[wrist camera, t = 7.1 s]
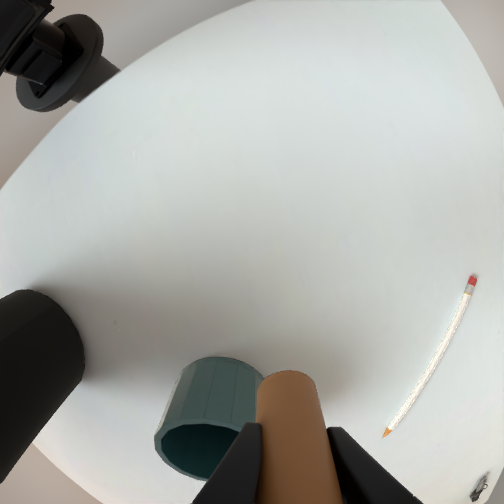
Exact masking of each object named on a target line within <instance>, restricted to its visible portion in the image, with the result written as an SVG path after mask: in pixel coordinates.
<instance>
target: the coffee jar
mask: <svg viewBox="0 0 504 504" xmlns="http://www.w3.org/2000/svg"><path fill="white" fill-rule="evenodd" d="M84 367H85V364H84V351H83V345H82V342H81V339H80V337H79V334H78V331H77V330H76V328H75V326H74V324H73V323H72V321H71V319H70V318H69V316H68V315H67V314H66V313H65V312H64V310H63V309H62V308H61V307H60V306H59V305H58V304H57V303H56V302H54V301H53V300H52V299H51V298H49V297H48V296H46V295H43V294H41V293H38V292H35V291H33V290H28V289H27V290H17V291H15V292H13V293H11V294H9V295H7V296H5V297H3V298H2V299H0V484H1V483H2V482H3V481H4V479H5V478H6V477H7V475H8V474H9V472H10V471H11V470H12V468H13V467H14V465H15V464H16V463H17V461H18V460H19V459H20V457H21V456H22V454H23V453H24V452H25V450H26V449H27V448H28V446H29V445H30V444H31V443H32V441H33V440H34V439H35V437H36V436H37V435H38V433H39V432H40V431H41V430H42V428H43V427H44V426H45V424H46V423H47V422H48V421H49V419H50V418H51V417H52V416H53V414H54V413H55V412H56V411H57V409H58V408H59V407H60V406H61V404H62V403H63V402H64V401H65V399H66V398H67V397H68V396H69V395H70V393H71V392H72V391H73V390H74V388H75V387H76V386H77V385H78V384H79V382H80V381H81V380H82V376H83V371H84Z"/></svg>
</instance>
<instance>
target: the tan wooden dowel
mask: <svg viewBox="0 0 504 504" xmlns="http://www.w3.org/2000/svg"><path fill="white" fill-rule="evenodd" d="M256 423H260V424H261V436H262V462H261V468H260V473H259V479H258V484H257V489H256V494H255V499H254V504H343V500H342V495H341V491H340V486H339V482H338V477H337V473H336V469H335V464H334V460H333V456H332V451H331V447H330V443H329V439H328V434H327V430H326V426H325V422H324V418H323V414H322V410H321V406H320V402H319V398H318V394H317V390H316V386H315V383H314V382H313V380H312V379H311V378H310V377H309V376H307V375H306V374H304V373H301V372H298V371H292V370H287V371H280V372H276V373H274V374H272V375H270V376H268V377H267V378H265V379H264V380H263V381H262V383H261V384H260V385H259V387H258V390H257V413H256Z"/></svg>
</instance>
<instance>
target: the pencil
mask: <svg viewBox="0 0 504 504" xmlns="http://www.w3.org/2000/svg"><path fill="white" fill-rule="evenodd" d="M476 282H477V279H476V278H474V277H472V276H470V279H469V281H468V284H467V286H466V289H465V291H464V294H463V296H462V299H461V301H460V303H459V306H458V308H457V310H456V312H455V315H454V317H453V319H452V321H451V323H450V325H449V327H448V329H447V331H446V334H445V335H444V337H443V339H442V341H441V343H440V345H439V347H438V349H437V351H436V353H435V354H434V356H433V358H432V360H431V362H430V363H429V365H428V367H427V369H426V370H425V372H424V374H423V375H422V377H421V379H420V380H419V382H418V383H417V385H416V387H415V388H414V390H413V391H412V393H411V394H410V396H409V397H408V399H407V400H406V402H405V403H404V405H403V406H402V408H401V409H400V410H399V412H398V413H397V415H396V416H395V417H394V419H393V420H392V421H391V423H390V424H389V425H388V427H387V429H386V431H385V433H384V435H383V437H382V438H384V437H385V436H386V435H388V434H389V433H390V432H391V431H392V430H393V429H394V428H395V427H396V425H397V424H398V423H399V421H400V420H401V419H402V417H403V416H404V415H405V413H406V412H407V411H408V409H409V408H410V406H411V405H412V403H413V402H414V401H415V399H416V398H417V396H418V395H419V393H420V392H421V390H422V388H423V387H424V385H425V384H426V382H427V381H428V379H429V377H430V376H431V374H432V372H433V371H434V369H435V367H436V366H437V364H438V362H439V360H440V359H441V357H442V355H443V353H444V351H445V349H446V348H447V346H448V344H449V342H450V340H451V338H452V336H453V334H454V332H455V330H456V328H457V326H458V324H459V322H460V320H461V317H462V315H463V313H464V311H465V308H466V306H467V304H468V301H469V299H470V297H471V294H472V292H473V289H474V287H475V284H476Z"/></svg>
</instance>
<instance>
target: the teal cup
mask: <svg viewBox="0 0 504 504" xmlns="http://www.w3.org/2000/svg"><path fill="white" fill-rule="evenodd" d="M263 380H264V378H263V377H262V375H261V374H260V373H259V372H258V371H257V370H255V369H254V368H253V367H251V366H249V365H248V364H246V363H243V362H241V361H238V360H235V359H231V358H225V357H209V358H204V359H200V360H197V361H195V362H193V363H191V364H190V365H188V366H187V367H186V368H185V369H184V370H183V371H182V372H181V374H180V376H179V378H178V380H177V381H176V383H175V385H174V388H173V390H172V393H171V395H170V398H169V400H168V403H167V405H166V408H165V410H164V413H163V415H162V418H161V420H160V423H159V425H158V428H157V430H156V433H155V435H154V443H155V450H156V451H157V453H158V454H159V456H160V457H161V458H162V460H163V461H164V462H165V463H166V464H168V465H169V466H170V467H172V468H173V469H175V470H176V471H178V472H179V473H181V474H184V475H186V476H189V477H191V478H194V479H197V480H201V481H208V479H209V478H210V476H211V475H212V474H213V472H214V471H215V469H216V468H217V466H218V465H219V463H220V462H221V460H222V459H223V457H224V456H225V454H226V453H227V451H228V450H229V448H230V447H231V445H232V443H233V442H234V440H235V439H236V437H237V436H238V434H239V432H240V431H241V429H242V428H243V426H244V424H245V423H246V422H255V423H256V413H257V390H258V387H259V385H260V384H261V383H262V381H263Z"/></svg>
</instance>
